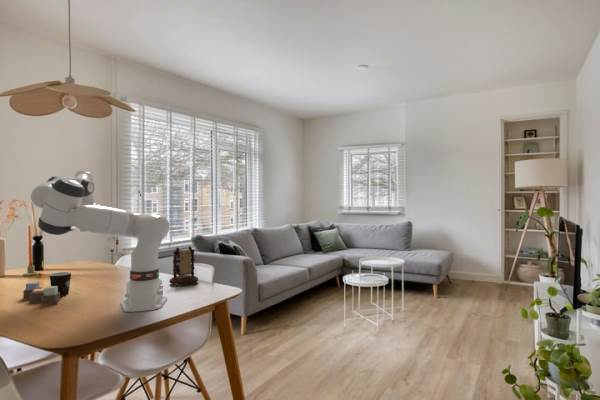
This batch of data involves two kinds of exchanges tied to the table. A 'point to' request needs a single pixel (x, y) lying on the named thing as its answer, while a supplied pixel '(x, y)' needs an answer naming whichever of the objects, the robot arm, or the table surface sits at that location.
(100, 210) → the robot arm
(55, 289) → the sage cap
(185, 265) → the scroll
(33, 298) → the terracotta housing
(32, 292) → the terracotta cap
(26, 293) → the slate housing
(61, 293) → the coffee mug
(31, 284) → the slate cap
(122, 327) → the table surface
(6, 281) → the table surface
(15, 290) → the table surface
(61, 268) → the table surface
